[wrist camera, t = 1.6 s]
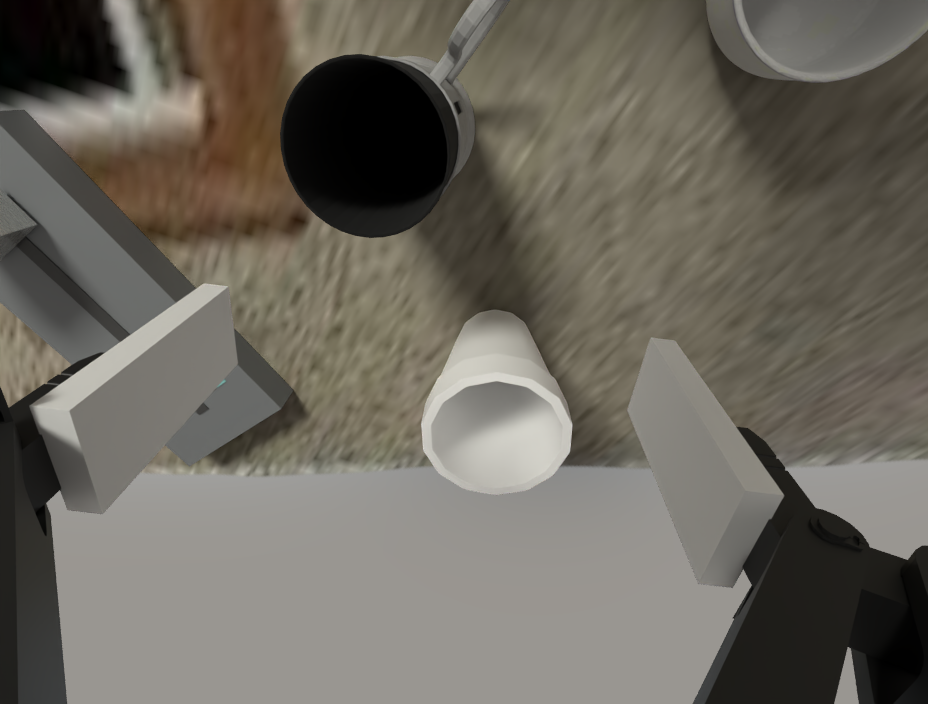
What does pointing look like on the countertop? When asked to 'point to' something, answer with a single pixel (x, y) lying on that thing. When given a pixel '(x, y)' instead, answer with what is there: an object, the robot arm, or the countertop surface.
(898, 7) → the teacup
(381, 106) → the glass holder
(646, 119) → the countertop surface
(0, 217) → the fader knob
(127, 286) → the fader console
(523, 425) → the foam cup
